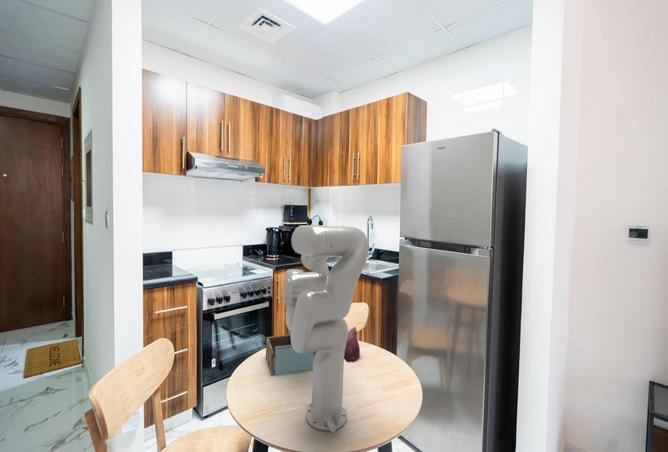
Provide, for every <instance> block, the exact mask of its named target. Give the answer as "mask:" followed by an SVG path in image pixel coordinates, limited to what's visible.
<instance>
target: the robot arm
mask: <svg viewBox="0 0 668 452" xmlns="http://www.w3.org/2000/svg"><path fill="white" fill-rule="evenodd" d="M292 232H293V233H292V234H291V235H292V236H291V246H292V249H293V251H294V252H295V253H297V254H299V255H301V256H300V260H301V261H300V262H301V263H302V265H303V267H304V268H306V269H307V270H309V271H305V272H304V271H303V270H302V269H299V268H298V269H297V268H289V269H287V270H286V271H285V272H284V289H283V290H284V294H283V295H284V296H283V297H284V298H283V300H284V301H283V305H284V306H285V324H286V325H285V326H286V327H287V328H288V335H290V336H288V345H292V348H293V349H294V350H295V351H296V352H297V353H300V354H304V353H310V352H315V351H317V352H316V354H315V356H314V359H313V370H312V372H311V374H312V375H311V376H312V379H311V405H310V406H309V407H307V409H306V413H305V419H306V422H307V423H308V424H309V425H310V426H311V427H312V428H313V429H316V430H318V431H324V432H325V431H326V432H330V433H335V432H336V431H337V430H338V429H340V428H341V427H343V426H344V425H345V423H346V422H347V419H348V413H347V410H346V409H345V407H344V406H343V398H344V397H343V391H344V366H345V364H344V363H345V359H344V353H345V347H346V342H347V338H348V332H349V325H348V323H347V321H346V320H345V319H344V318H346V317H347V316H348V314H349V312H350V309H351V306H352V303H353V299H354V296H355V292H356V288H357V285H358V281H359V279H360V276H361V274H362V273H363V270H364V268H365V265H366V263H367V261H368V256H369V243H368V238H367V235H366V234H365V232H363V230H361V229H359V228H357V227H355V226H353V227H352V226H345V225H343V226H337V225H336V226H328V225H323V224H322V225H319V224H318V225H307V224H306V225H298V226H297V227H296V228H295V229H294V231H292ZM331 257H332V258H333V257H340V259H339V260H337V262H336V263H335V264H334V265H333V266H332V267H331V269H330V270H329V265H328V263H327V261H328V259H329V258H331Z"/></svg>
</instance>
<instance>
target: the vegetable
mask: <svg viewBox="0 0 668 452" xmlns="http://www.w3.org/2000/svg"><path fill="white" fill-rule="evenodd" d="M360 350H361V348H360V344H359V340H358V336H357V327H356V326H354V327H352V328H351V329H349V330H348V338H347V342H346V347H345V353H344V361H345V362H347V363H353V362H356V361H358V360H359V359H360V355H361V354H360V353H361V351H360Z"/></svg>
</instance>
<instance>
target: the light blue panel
mask: <svg viewBox="0 0 668 452" xmlns="http://www.w3.org/2000/svg"><path fill="white" fill-rule="evenodd" d="M313 359H314V352H310V353H304V354H300V353H297V352H296V351H295V350H294V349H293V348H292V345H285V346H277V347H275V374H274V376H279V375H285V374H291V373H297V372H298V373H299V372H306V371H313Z"/></svg>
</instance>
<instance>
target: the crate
mask: <svg viewBox="0 0 668 452" xmlns="http://www.w3.org/2000/svg"><path fill="white" fill-rule="evenodd" d="M288 336H290V335H289V334H285V335H276V336H267V337H265V338H266V339H265V359H266V360H265V361H266V363H267V365H268V370H269V373H270V377H274V375H275V347H277V346H285V345H288ZM316 352H317V351H315V352H314V356H315V354H316Z"/></svg>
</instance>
